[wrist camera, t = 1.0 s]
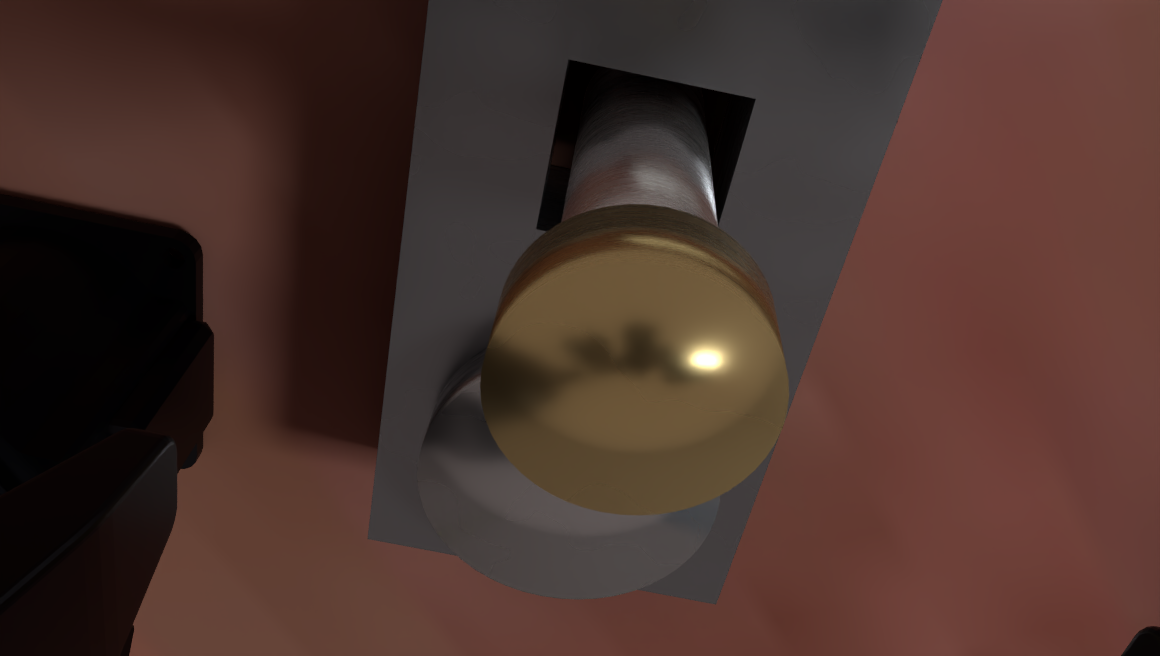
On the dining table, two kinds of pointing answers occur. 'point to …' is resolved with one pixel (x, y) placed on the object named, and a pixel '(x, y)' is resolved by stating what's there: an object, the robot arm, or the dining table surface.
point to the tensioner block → (535, 205)
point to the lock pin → (636, 321)
